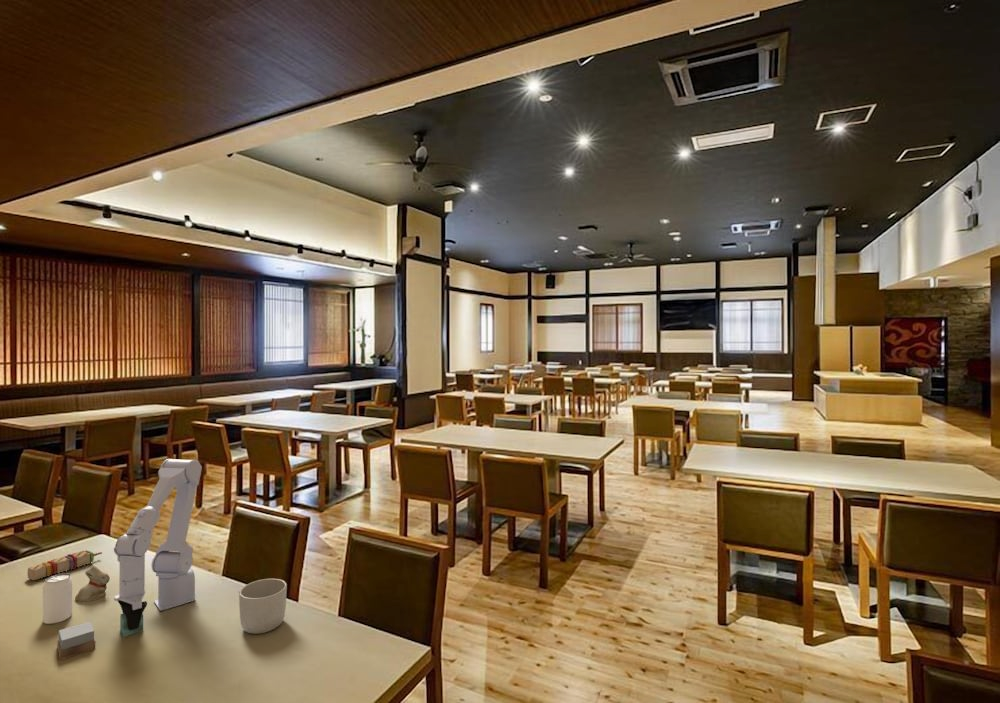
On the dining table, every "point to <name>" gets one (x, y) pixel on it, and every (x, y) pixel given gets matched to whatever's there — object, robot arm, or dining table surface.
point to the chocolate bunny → (93, 585)
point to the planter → (262, 605)
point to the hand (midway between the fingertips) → (131, 625)
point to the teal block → (124, 626)
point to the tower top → (76, 635)
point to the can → (57, 598)
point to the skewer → (61, 564)
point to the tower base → (75, 649)
